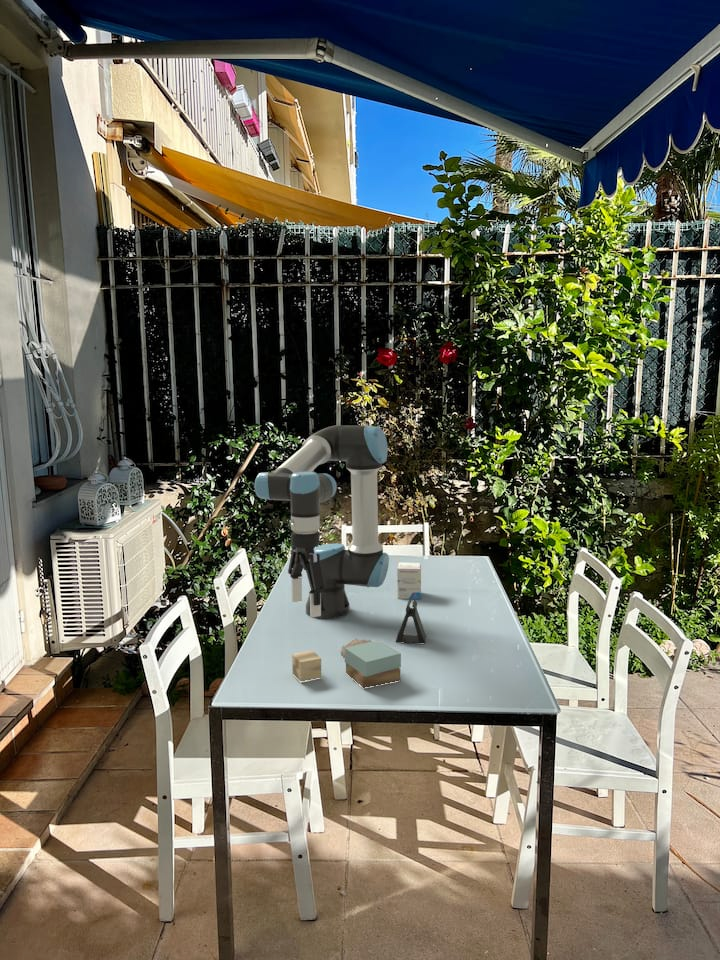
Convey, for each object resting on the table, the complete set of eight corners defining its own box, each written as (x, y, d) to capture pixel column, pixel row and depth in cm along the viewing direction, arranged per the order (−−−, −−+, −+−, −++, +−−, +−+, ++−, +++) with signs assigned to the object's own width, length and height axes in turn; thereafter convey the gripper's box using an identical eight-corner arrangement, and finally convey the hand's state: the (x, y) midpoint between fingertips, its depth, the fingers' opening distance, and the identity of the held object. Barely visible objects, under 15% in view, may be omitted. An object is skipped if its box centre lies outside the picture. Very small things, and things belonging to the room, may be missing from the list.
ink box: (421, 592, 267) (421, 562, 265) (420, 599, 259) (421, 568, 257) (398, 591, 268) (398, 561, 266) (396, 598, 259) (397, 567, 258)
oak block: (292, 675, 195) (292, 654, 194) (312, 671, 198) (312, 650, 197) (300, 683, 190) (300, 662, 189) (321, 679, 192) (321, 658, 191)
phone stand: (395, 642, 218) (395, 604, 216) (397, 635, 224) (398, 598, 222) (424, 644, 217) (425, 606, 215) (426, 637, 222) (427, 600, 221)
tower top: (344, 661, 195) (344, 648, 194) (378, 653, 201) (378, 640, 200) (366, 676, 186) (366, 662, 185) (400, 667, 191) (401, 653, 191)
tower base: (345, 675, 196) (345, 661, 195) (381, 667, 201) (381, 654, 200) (363, 691, 186) (363, 676, 186) (400, 683, 191) (400, 669, 190)
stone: (333, 649, 214) (333, 640, 214) (369, 643, 218) (369, 635, 218) (347, 663, 203) (347, 654, 203) (385, 657, 208) (385, 648, 207)
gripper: (275, 523, 197) (277, 597, 200) (309, 542, 175) (310, 625, 178) (301, 520, 200) (302, 593, 203) (337, 539, 178) (337, 621, 181)
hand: (305, 608), depth 191 cm, fingers open, 13 cm apart
